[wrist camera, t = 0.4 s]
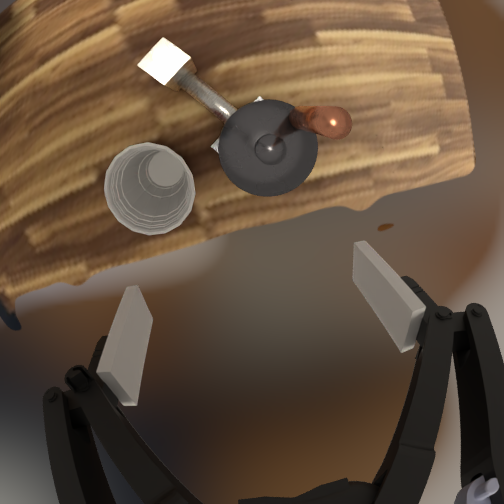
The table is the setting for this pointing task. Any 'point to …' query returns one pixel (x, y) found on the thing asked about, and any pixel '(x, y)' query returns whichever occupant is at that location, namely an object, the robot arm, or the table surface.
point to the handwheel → (276, 144)
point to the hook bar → (183, 77)
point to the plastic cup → (149, 188)
